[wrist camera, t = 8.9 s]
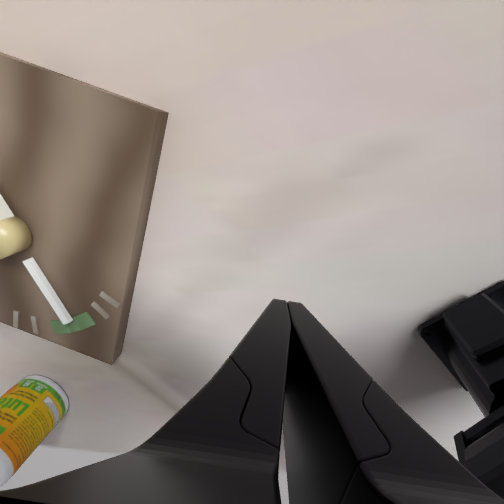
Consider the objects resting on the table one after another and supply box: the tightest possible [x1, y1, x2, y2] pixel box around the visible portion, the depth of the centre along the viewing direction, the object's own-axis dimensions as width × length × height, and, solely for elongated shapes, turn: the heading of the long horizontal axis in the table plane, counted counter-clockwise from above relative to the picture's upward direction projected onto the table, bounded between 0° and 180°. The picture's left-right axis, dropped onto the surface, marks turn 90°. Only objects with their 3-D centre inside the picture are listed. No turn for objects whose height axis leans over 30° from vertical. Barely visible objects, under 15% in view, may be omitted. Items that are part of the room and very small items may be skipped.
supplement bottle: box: [0, 375, 69, 487], centre depth 26 cm, size 5×5×10 cm
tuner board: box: [0, 52, 168, 365], centre depth 22 cm, size 17×20×2 cm
